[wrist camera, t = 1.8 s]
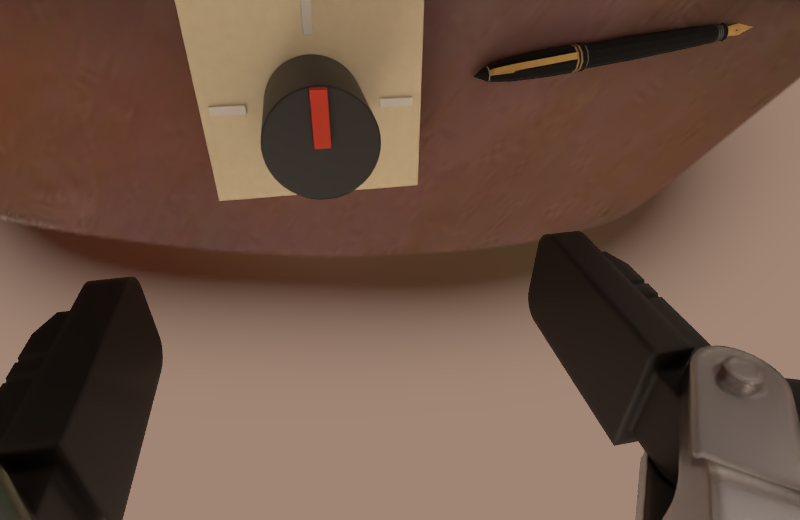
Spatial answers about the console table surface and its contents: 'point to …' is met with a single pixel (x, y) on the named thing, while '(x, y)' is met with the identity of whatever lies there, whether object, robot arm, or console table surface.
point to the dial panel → (285, 39)
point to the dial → (318, 128)
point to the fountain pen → (603, 53)
